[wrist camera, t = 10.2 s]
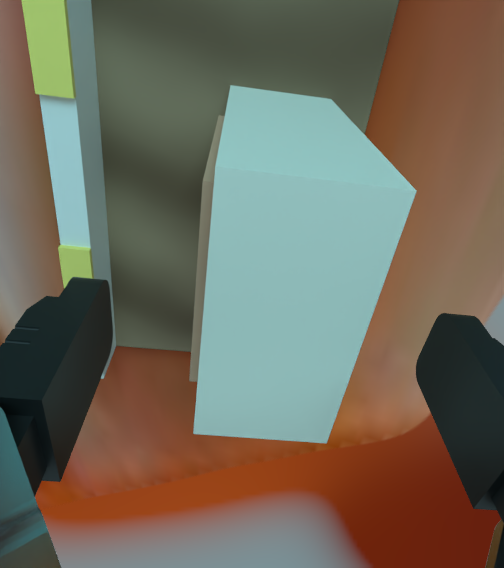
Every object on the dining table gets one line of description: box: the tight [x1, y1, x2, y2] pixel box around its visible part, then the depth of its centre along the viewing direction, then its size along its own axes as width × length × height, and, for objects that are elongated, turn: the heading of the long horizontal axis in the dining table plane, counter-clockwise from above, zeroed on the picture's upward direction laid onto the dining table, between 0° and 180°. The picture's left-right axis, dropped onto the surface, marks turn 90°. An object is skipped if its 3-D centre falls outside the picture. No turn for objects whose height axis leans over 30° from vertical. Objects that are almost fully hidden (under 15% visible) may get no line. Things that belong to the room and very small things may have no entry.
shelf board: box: [91, 0, 399, 352], centre depth 19 cm, size 20×12×1 cm, turn 173°
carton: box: [189, 85, 416, 443], centre depth 15 cm, size 4×8×10 cm, turn 173°
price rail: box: [22, 0, 116, 379], centre depth 17 cm, size 20×1×3 cm, turn 173°
